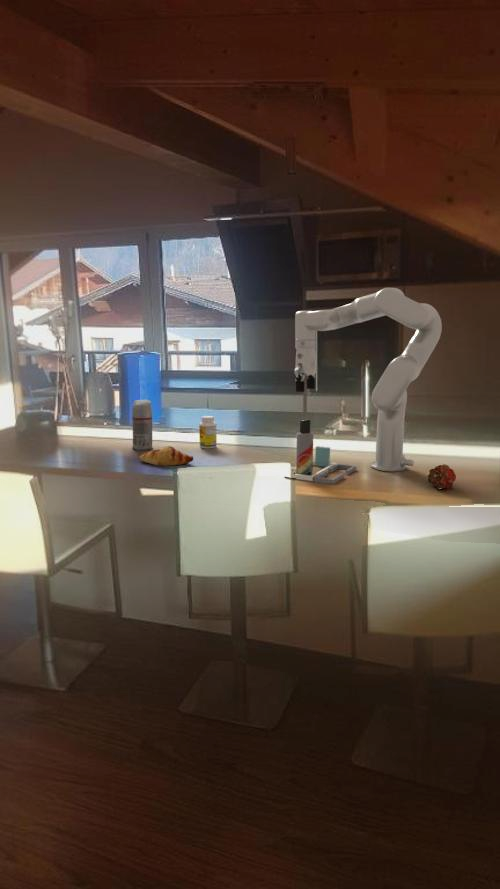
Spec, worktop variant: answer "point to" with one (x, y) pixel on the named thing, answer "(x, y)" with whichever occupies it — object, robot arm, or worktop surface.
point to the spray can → (142, 424)
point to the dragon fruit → (442, 476)
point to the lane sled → (319, 463)
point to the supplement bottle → (207, 432)
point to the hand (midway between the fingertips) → (305, 390)
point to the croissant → (166, 457)
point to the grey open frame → (332, 481)
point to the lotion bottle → (304, 449)
